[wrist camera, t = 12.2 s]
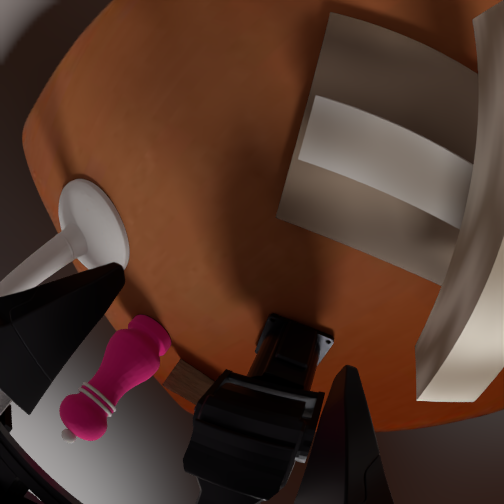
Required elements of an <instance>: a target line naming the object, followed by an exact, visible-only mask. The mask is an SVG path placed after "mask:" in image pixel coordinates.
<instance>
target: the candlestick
mask: <svg viewBox="0 0 504 504" xmlns="http://www.w3.org/2000/svg"><path fill="white" fill-rule="evenodd" d="M59 221H60V225H61V229H62V231H61V232H60V233H59V234H57V235H56V236H55V237H54V238H52V239H51V240H50V241H48V242H47V243H46V244H45V245H43V246H42V247H41V248H39V249H38V250H37V251H36V252H35V253H33V254H32V255H31V256H30V257H28V258H27V259H26V260H25V261H24V262H22V263H21V264H20V265H19V266H18V267H17V268H16V269H14V270H13V271H12V272H11V273H10V274H9V275H8V276H6V277H5V278H4V279H3V280H2V281H1V282H0V297H2V296H6V295H10V294H14V293H17V292H21V291H24V290H27V289H31V288H34V287H35V286H37V285H38V284H39V283H41V282H42V281H43V280H45V279H46V278H47V277H49V276H51V275H52V274H53V273H55V272H56V271H58V270H59V269H61V268H62V267H63V266H65V265H67V264H68V263H70V262H72V261H73V260H74V259H76V258H77V259H78V260H79V261H80V262H81V263H82V264H83V265H84V266H86V267H87V268H88V269H92V268H96V267H99V266H102V265H105V264H109V263H112V262H117V263H118V264H120V265H122V266H123V268H124V269H125V268H126V266H127V264H128V260H129V243H128V238H127V234H126V230H125V227H124V224H123V222H122V220H121V217H120V215H119V213H118V212H117V210H116V208H115V206H114V205H113V203H112V202H111V200H110V199H109V198H108V196H107V195H106V194H105V193H104V192H103V191H102V190H101V189H100V188H99V187H98V186H97V185H95V184H94V183H92V182H90V181H88V180H85V179H76V180H73V181H71V182H69V183H68V184H67V185H66V186H65V187H64V188H63V190H62V193H61V196H60V200H59Z"/></svg>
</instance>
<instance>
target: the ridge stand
mask: <svg viewBox="0 0 504 504" xmlns="http://www.w3.org/2000/svg"><path fill="white" fill-rule="evenodd" d="M478 105H479V83H478V74H477V73H475V72H474V71H472V70H470V69H469V68H467V67H465V66H464V65H462V64H460V63H459V62H457V61H455V60H453V59H452V58H450V57H448V56H446V55H444V54H442V53H440V52H439V51H437V50H435V49H433V48H431V47H428V46H426V45H424V44H422V43H420V42H418V41H416V40H413V39H411V38H409V37H406V36H404V35H401V34H399V33H396V32H394V31H391V30H389V29H386V28H383V27H380V26H377V25H374V24H371V23H368V22H365V21H362V20H359V19H355V18H352V17H348V16H344V15H341V14H337V13H333V12H330V16H329V20H328V24H327V28H326V32H325V36H324V40H323V44H322V47H321V51H320V55H319V59H318V63H317V67H316V71H315V75H314V78H313V82H312V86H311V90H310V94H309V97H308V101H307V105H306V109H305V112H304V116H303V120H302V124H301V127H300V131H299V135H298V138H297V142H296V146H295V149H294V153H293V157H292V160H291V164H290V168H289V171H288V175H287V178H286V182H285V186H284V189H283V193H282V196H281V200H280V203H279V207H278V211H277V214H276V218H278V219H280V220H283V221H286V222H288V223H291V224H294V225H296V226H299V227H302V228H304V229H307V230H309V231H312V232H315V233H317V234H320V235H322V236H325V237H327V238H330V239H332V240H335V241H337V242H340V243H342V244H345V245H347V246H350V247H352V248H355V249H357V250H360V251H362V252H365V253H367V254H369V255H372V256H374V257H377V258H379V259H381V260H384V261H386V262H388V263H391V264H393V265H395V266H398V267H400V268H402V269H405V270H407V271H409V272H411V273H414V274H416V275H418V276H421V277H423V278H425V279H427V280H429V281H432V282H434V283H436V284H438V285H440V286H442V284H443V281H444V279H445V276H446V273H447V270H448V267H449V264H450V261H451V258H452V255H453V252H454V249H455V246H456V242H457V239H458V235H459V232H460V228H461V224H462V220H463V216H464V212H465V208H466V203H467V198H468V193H469V188H470V183H471V177H472V171H473V164H474V157H475V149H476V139H477V127H478Z"/></svg>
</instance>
